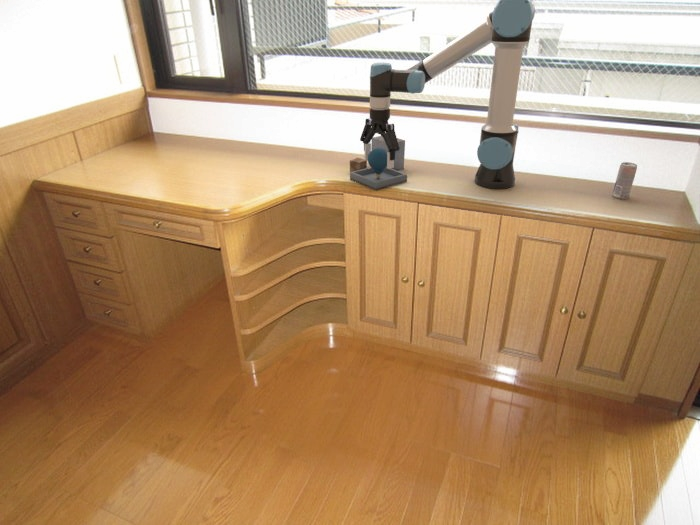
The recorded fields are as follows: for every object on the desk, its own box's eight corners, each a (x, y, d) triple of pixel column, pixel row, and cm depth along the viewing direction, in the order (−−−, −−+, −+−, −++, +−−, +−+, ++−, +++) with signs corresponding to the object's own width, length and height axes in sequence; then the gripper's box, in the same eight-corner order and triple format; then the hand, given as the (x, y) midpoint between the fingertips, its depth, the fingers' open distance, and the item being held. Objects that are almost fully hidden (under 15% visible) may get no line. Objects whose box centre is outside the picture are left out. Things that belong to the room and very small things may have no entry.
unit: (403, 168, 207) (405, 135, 201) (389, 172, 203) (390, 138, 196) (384, 162, 216) (385, 130, 209) (370, 165, 212) (371, 132, 205)
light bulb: (389, 175, 197) (389, 145, 191) (388, 182, 189) (389, 151, 184) (368, 175, 198) (368, 145, 192) (367, 181, 190) (366, 151, 185)
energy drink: (623, 193, 179) (632, 162, 174) (631, 199, 175) (640, 166, 169) (609, 194, 179) (617, 162, 173) (616, 199, 174) (625, 166, 169)
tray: (406, 181, 193) (407, 174, 191) (375, 190, 184) (376, 182, 183) (380, 171, 204) (380, 164, 202) (350, 179, 195) (349, 172, 194)
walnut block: (366, 171, 205) (366, 159, 202) (359, 174, 201) (359, 162, 199) (357, 169, 207) (357, 157, 205) (349, 172, 204) (349, 160, 201)
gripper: (410, 111, 174) (407, 169, 184) (366, 101, 191) (365, 155, 201) (395, 114, 170) (393, 173, 180) (351, 104, 187) (351, 158, 197)
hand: (378, 164), depth 191 cm, fingers open, 13 cm apart
